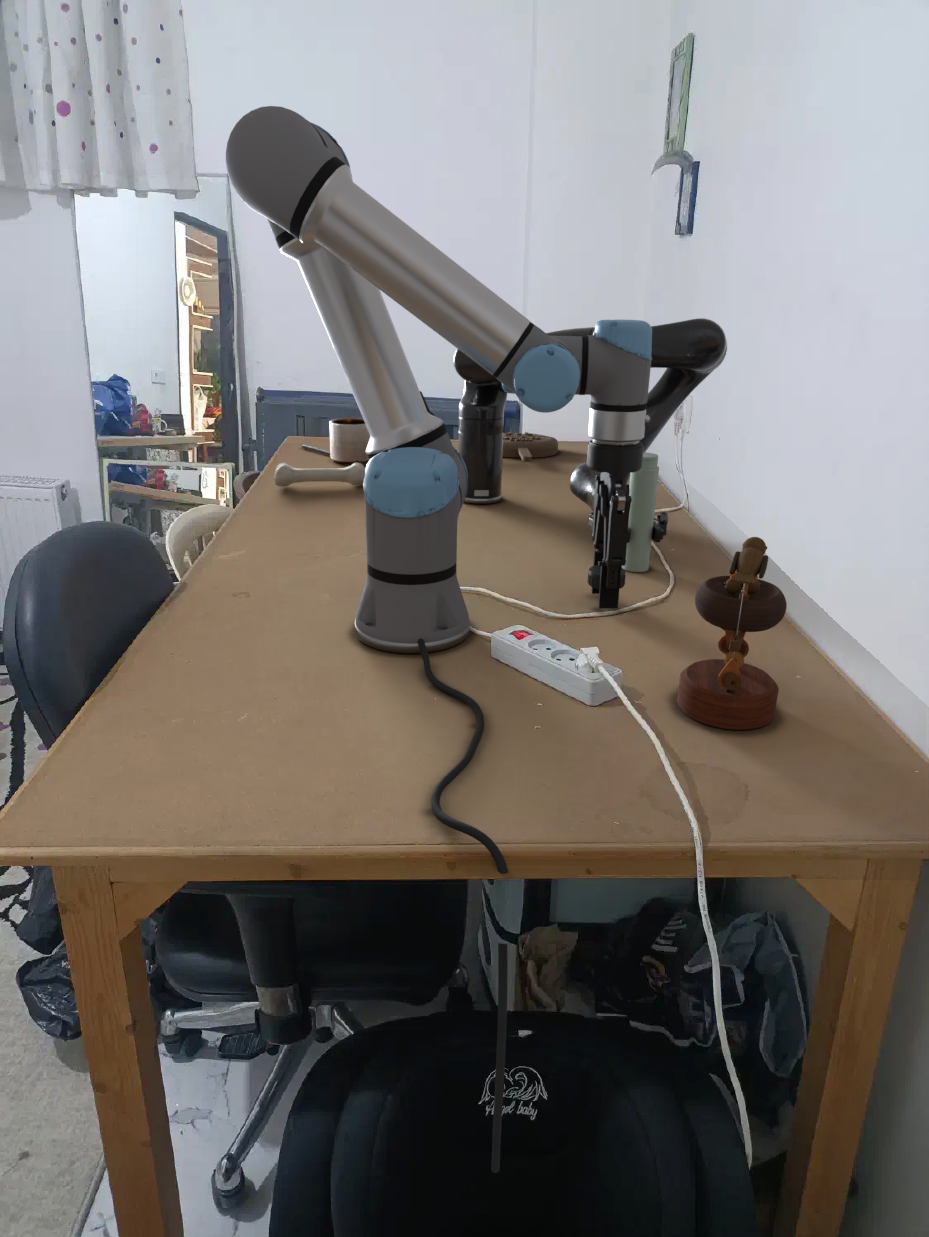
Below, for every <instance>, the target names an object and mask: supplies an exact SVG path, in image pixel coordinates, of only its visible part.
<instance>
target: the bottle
mask: <svg viewBox="0 0 929 1237" xmlns="http://www.w3.org/2000/svg"><path fill="white" fill-rule="evenodd" d="M659 474H660V467H659V454H657V453H653V452H645V453H643V460H642V467H641V469H640V470H639V471H637V472H634V473H632V472H630V477H629V496H631V498H632V502H631V506H630V512H629V523H628V528H629V529H630V531H631V534H630V542H629V543H627V549H626V563H625V566H621V568H623V569H624V570H625V571H627V572H632V573H645V572H648V571H649V569H650V559H651V551H652V541H653V540H652V532H653V522H654V516H655V512H656V511H655V510H656V502H657V495H658V494H657V493H658V492H657V490H658V483H659Z"/></svg>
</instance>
